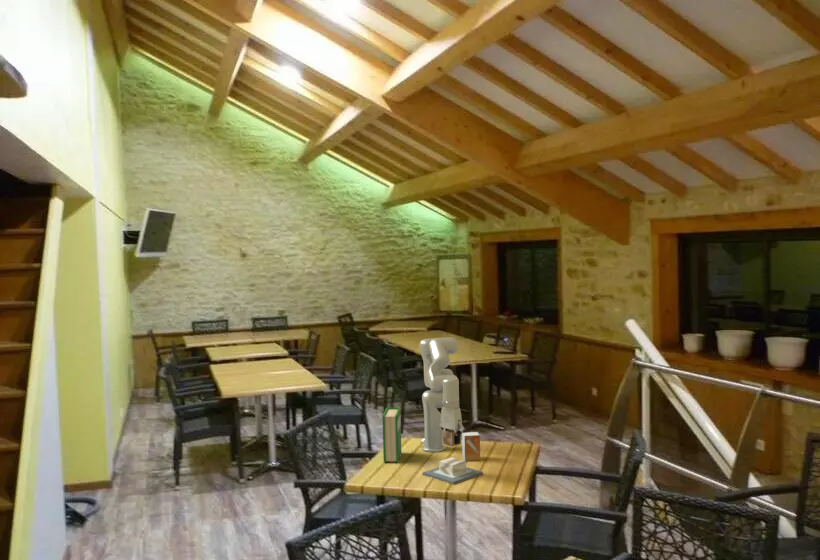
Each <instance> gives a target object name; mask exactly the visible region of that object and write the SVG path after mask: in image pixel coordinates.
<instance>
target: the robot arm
mask: <svg viewBox="0 0 820 560" xmlns="http://www.w3.org/2000/svg"><path fill="white" fill-rule="evenodd" d="M458 347H459V345H458V342H457V340H456V338H454V337H451V336H449V337H433V338H424V339H421V340H420V342H419V347H418V348H419V352H420V355H421V358H422V360H423V380H424V385H425V386H426V388H429V390H425V391H424V392H423V393H422V395H421V401H422V407H423V417H424V418H423V419H424V420H423V422H424V425H423V426H424V438H421V440H420V443H422V444H423V445H422V446H421V450H423V451H424V452H428V453H437V452H443V451H445V450H446V448H447V447H446V446H447V445H445V444H443V431H446V430H454V433H455V436H454V444H459V443H460V435H461V436H462V433H464V430H465V427H464V425H463V423H462V421H463V420H462V412H461V408H460V391H459V390H460V387H459V385H460V381H459V378H458V377H457V375H455V374H454V372H453V371H452V369H450V368H447V367H448V366H450V363H451V359H450V356H449V355H454V354H456V353H458V349H459V348H458ZM438 409H441V410H440V411H439V410H438ZM457 431H458V432H457ZM459 445H460V444H459Z"/></svg>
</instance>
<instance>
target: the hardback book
mask: <svg viewBox="0 0 820 560" xmlns="http://www.w3.org/2000/svg"><path fill="white" fill-rule="evenodd" d="M401 415H402V414H401V407H386V408H385V410H384V411H383V414H382V446H383V447H382V449H383V451H382V452H383V456H382V457H383V463H384V462H386V463H387V462H396V463H397V462H399V463H400V460H401V456H400V455H402V422H401V421H402V420H401V418H402V417H401Z"/></svg>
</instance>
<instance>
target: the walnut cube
mask: <svg viewBox="0 0 820 560" xmlns="http://www.w3.org/2000/svg"><path fill="white" fill-rule="evenodd" d="M457 432H458V431H457ZM454 436H455V433H454V430H450V429H449V430H446V431H443V430H442V439H443V445H445V446H449V447H455V446H458V445H462V434H461V435H460V443H459V444H454Z"/></svg>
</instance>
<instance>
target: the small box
mask: <svg viewBox="0 0 820 560" xmlns="http://www.w3.org/2000/svg"><path fill="white" fill-rule="evenodd" d="M461 451H462V452H461V453H462V455H461V457H462V460H464V461H466V462H472V461H473V462H475V461H476V462H477V461H481V435H480V434H479V432H478V431H473V432H472V431H471V432H462V433H461Z"/></svg>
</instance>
